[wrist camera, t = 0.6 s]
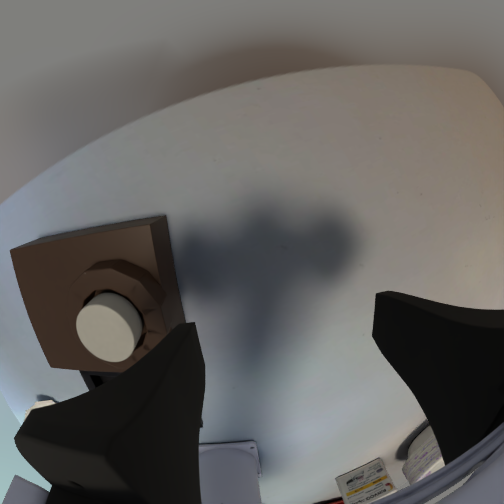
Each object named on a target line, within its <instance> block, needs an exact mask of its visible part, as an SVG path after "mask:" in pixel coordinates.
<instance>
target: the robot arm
mask: <svg viewBox="0 0 504 504" xmlns="http://www.w3.org/2000/svg"><path fill="white" fill-rule="evenodd" d="M372 337H373V339H374V340H375V342H376V344H377V346H378V348H379V349H380V351H381V353H382V354H383V355H384V357H385V358H386V359H387V361H388V362H389V363H390V364H391V366H392V367H393V368H394V369H395V371H396V372H397V373H398V374H399V376H400V377H401V378H402V379H403V381H404V382H405V383H406V384H407V386H408V387H409V388H410V390H411V391H412V393H413V394H414V396H415V397H416V399H417V401H418V403H419V404H420V406H421V408H422V410H423V411H424V413H425V415H426V417H427V419H428V422H429V424H430V426H431V428H432V430H433V433H434V435H435V438H436V440H437V443H438V445H439V448H440V451H441V454H442V458H443V461H444V464H445V466H444V467H442V468H441V469H439V470H437V471H436V472H434V473H432V474H430V475H429V476H427V477H425V478H423V479H421V480H419V481H418V482H416V483H414V484H412V485H410V486H408V487H406V488H404V489H401V490H399V491H397V492H395V493H393V494H390V495H388V496H386V497H383V498H381V499H378V500H376V501H373V502H371V503H368V504H424V503H426V502H427V501H429V500H431V499H432V498H434V497H436V496H438V495H439V494H441V493H443V492H444V491H446V490H447V489H449V488H450V487H452V486H454V485H455V484H456V483H458V482H459V481H461V480H462V479H463V478H465V477H466V476H468V475H469V474H470V473H472V472H473V471H474V473H473V474H472V475H471V477H470V478H469V479H468V480H467V481H466V482H465V483H464V484H463V485H462V486H461V487H459V488H458V489H457V490H455V491H454V492H452V493H451V494H449V495H448V496H446V497H444V498H443V499H441V500H440V501H438V502H436V503H435V504H504V310H484V309H472V308H464V307H458V306H452V305H448V304H443V303H439V302H435V301H431V300H427V299H423V298H419V297H415V296H412V295H408V294H404V293H399V292H394V291H385V292H380V293H376V298H375V311H374V322H373V331H372ZM204 393H205V363H204V359H203V355H202V351H201V346H200V342H199V338H198V334H197V329H196V325H195V322H190V323H180V324H178V325H177V326H176V327H175V328H174V329H172V330H171V331H170V332H169V333H168V334H167V335H166V336H165V337H164V338H163V339H162V340H161V341H160V342H159V343H158V344H157V345H156V346H155V347H154V348H153V349H152V350H150V351H149V352H148V353H147V354H146V355H145V356H143V357H142V358H141V359H140V360H139V361H138V362H136V363H135V364H134V365H132V366H131V367H130V368H128V369H127V370H125V371H124V372H122V373H121V374H119V375H118V376H116V377H115V378H113V379H111V380H110V381H108V382H106V383H104V384H102V385H100V386H98V387H96V388H95V389H93V390H91V391H88V392H86V393H84V394H81V395H79V396H76V397H74V398H71V399H68V400H65V401H62V402H59V403H55V404H52V405H48V406H44V407H40V408H35V409H32V410H31V411H30V413H29V414H28V416H27V418H26V419H25V421H24V422H23V424H22V426H21V427H20V429H19V431H18V432H17V434H16V436H15V437H14V440H15V444H16V447H17V448H18V450H19V452H20V453H21V455H22V456H23V457H24V458H25V459H26V460H27V462H28V463H29V464H30V465H31V466H32V467H33V468H34V469H35V470H36V471H37V472H38V473H39V474H40V475H41V476H42V477H44V478H45V479H46V480H47V481H48V482H49V483H50V484H51V485H52V487H51V490H50V492H48V491H47V490H45V489H43V488H42V487H40V486H38V485H36V484H34V483H32V482H29V481H27V480H25V479H23V478H21V477H19V476H17V475H15V476H14V478H13V480H12V482H11V485H10V487H9V489H8V492H7V494H6V496H5V498H4V500H3V503H2V504H262V502H261V495H260V488H259V481H258V478H260V477H261V476H262V473H261V468H260V462H259V457H258V451H257V445H256V442H254V441H247V442H237V443H225V444H204V445H199V431H200V423H201V415H202V408H203V400H204ZM478 467H479V468H478ZM477 468H478V469H477Z"/></svg>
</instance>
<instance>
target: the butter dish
mask: <svg viewBox="0 0 504 504" xmlns="http://www.w3.org/2000/svg"><path fill="white" fill-rule="evenodd" d="M327 504H345V503H344V501H343V499H342V500H338V501H335V502H331V503H327Z"/></svg>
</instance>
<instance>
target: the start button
mask: <svg viewBox="0 0 504 504" xmlns="http://www.w3.org/2000/svg"><path fill="white" fill-rule="evenodd" d="M76 328H77V333H78V336H79V338H80V340H81V342H82V343H83V345H84V346H85V347H86V348H87V349H88V350H89V351H90V352H91V353H92V354H93V355H95V356H96V357H98V358H100V359H102V360H105V361H109V362H119V361H123V360H125V359H127V358H128V357H129V356H130V355H131V354H132V352H133V350H134V348H135V346H136V344H137V342H138V340H139V338H140V336H141V334H142V321H141V317H140V315H139V313H138V311H137V309H136V308H135V307H134V305H133V304H132V303H131V302H130V301H128V300H127V299H126V298H124V297H122V296H120V295H118V294H115V293H101V294H98V295H97V296H95V297H94V298H93V299H92V300H91V301H90V302H89V303H88V304H87V305H86V306H85V307H84V308H83V309H82V310H81V311H80V312H79V314H78V316H77V321H76Z"/></svg>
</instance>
